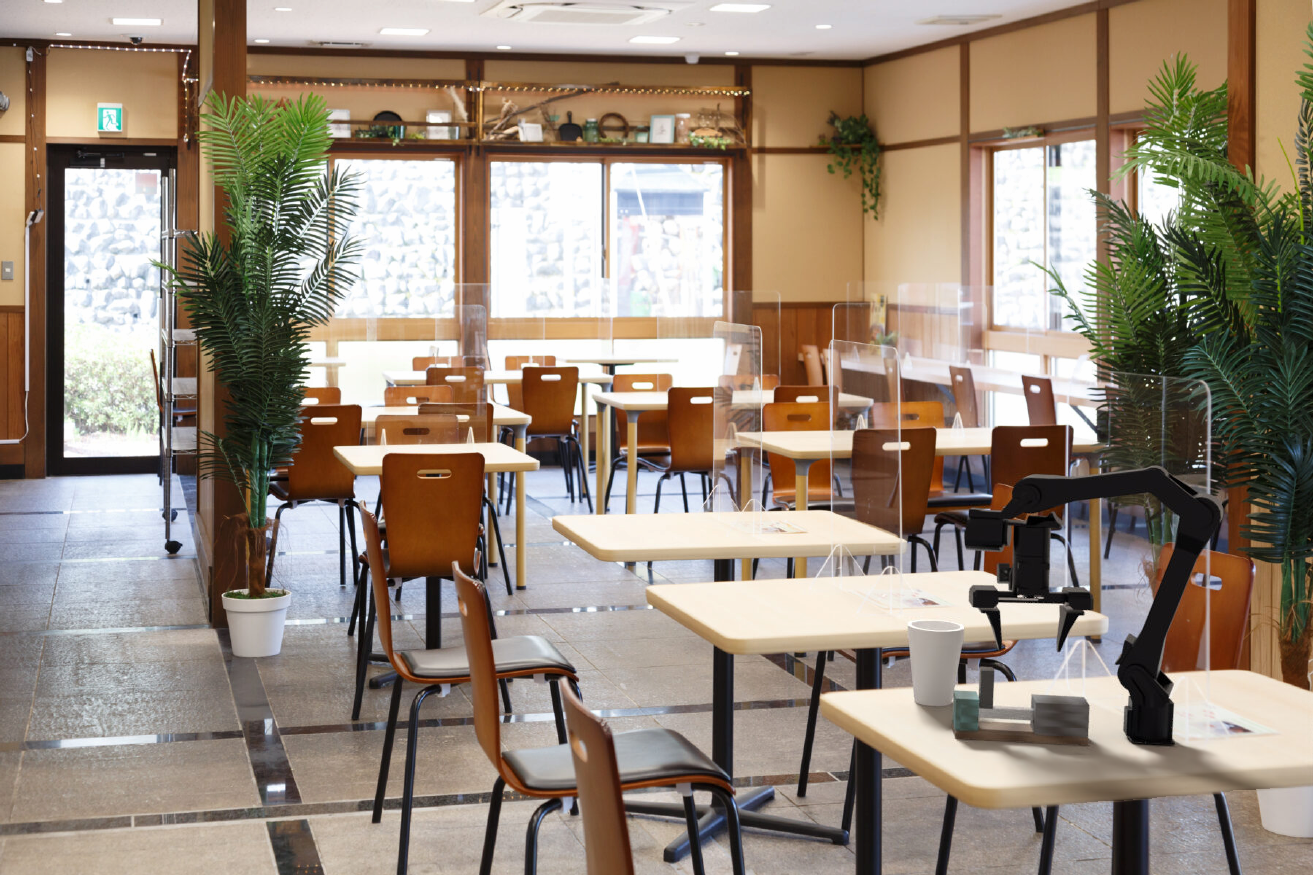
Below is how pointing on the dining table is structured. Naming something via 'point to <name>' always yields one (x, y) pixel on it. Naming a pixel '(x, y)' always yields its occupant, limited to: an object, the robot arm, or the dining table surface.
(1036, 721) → the wooden long base
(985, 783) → the dining table surface
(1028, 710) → the angled grey metal bar
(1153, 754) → the dining table surface
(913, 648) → the foam cup
